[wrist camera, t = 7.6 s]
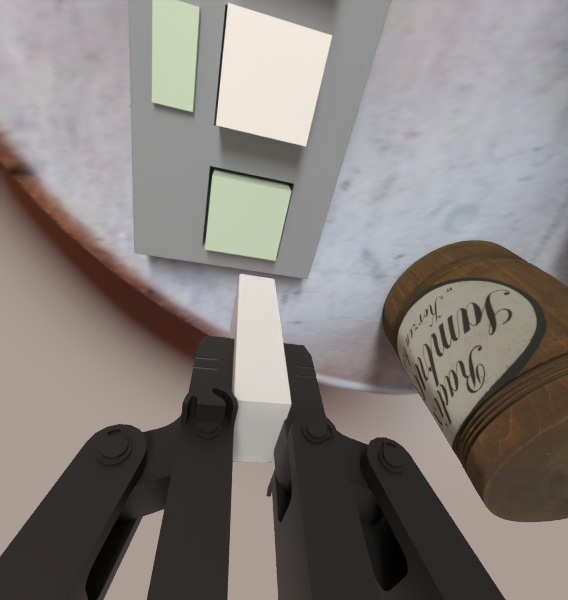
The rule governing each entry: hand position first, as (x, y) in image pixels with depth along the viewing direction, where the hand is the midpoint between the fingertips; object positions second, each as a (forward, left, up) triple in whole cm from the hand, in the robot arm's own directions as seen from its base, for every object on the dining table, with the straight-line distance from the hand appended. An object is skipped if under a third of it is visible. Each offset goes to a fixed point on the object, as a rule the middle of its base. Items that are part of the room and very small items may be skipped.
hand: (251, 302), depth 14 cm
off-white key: (-8, 0, -12) cm, 15 cm away
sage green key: (0, 0, -14) cm, 14 cm away
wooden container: (+7, +23, -15) cm, 28 cm away
